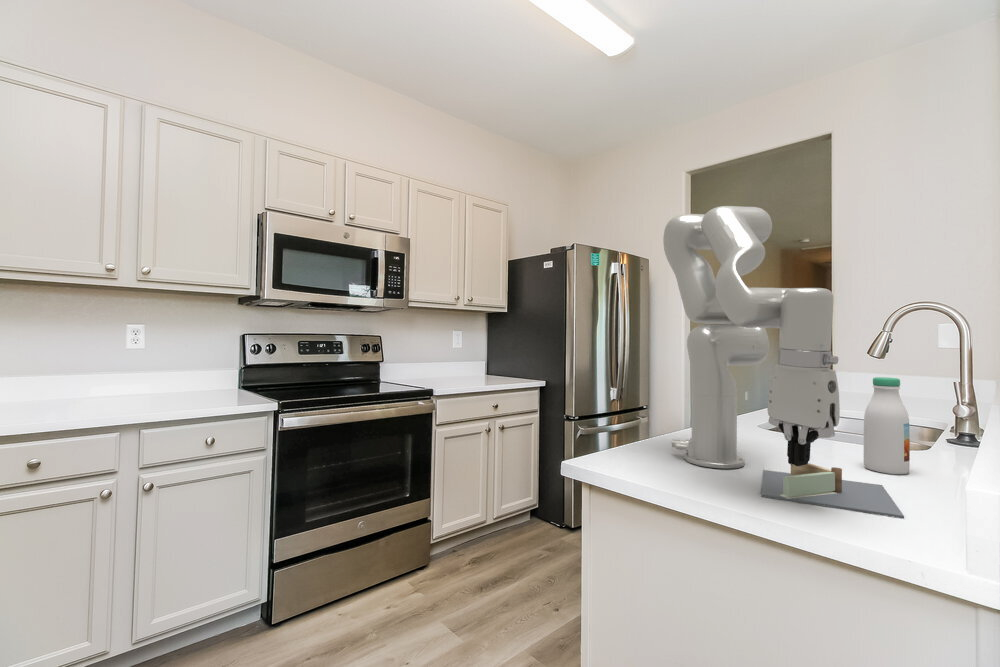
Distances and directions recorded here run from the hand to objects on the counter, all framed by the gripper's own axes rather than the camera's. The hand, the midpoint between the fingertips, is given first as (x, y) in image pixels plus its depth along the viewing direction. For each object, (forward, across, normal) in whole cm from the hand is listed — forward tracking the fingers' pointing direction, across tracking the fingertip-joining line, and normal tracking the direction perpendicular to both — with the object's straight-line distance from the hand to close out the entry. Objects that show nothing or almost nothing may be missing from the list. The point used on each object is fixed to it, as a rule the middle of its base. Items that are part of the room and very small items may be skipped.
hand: (798, 463), depth 83 cm
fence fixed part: (+7, +3, -12) cm, 14 cm away
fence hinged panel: (+6, 0, -4) cm, 7 cm away
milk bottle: (+8, +3, -37) cm, 38 cm away
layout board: (+7, +1, -10) cm, 12 cm away
